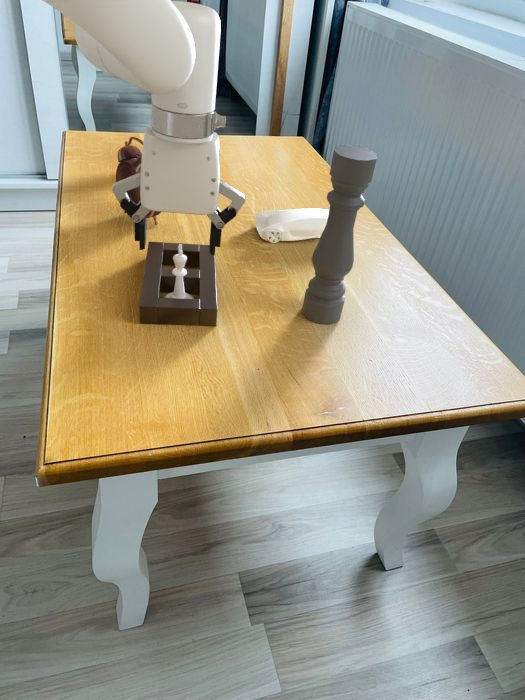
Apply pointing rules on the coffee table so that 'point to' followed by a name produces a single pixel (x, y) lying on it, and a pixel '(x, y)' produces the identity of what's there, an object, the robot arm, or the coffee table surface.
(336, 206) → the candle holder
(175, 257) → the chess piece
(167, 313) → the socket block
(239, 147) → the coffee table surface
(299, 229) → the toy car
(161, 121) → the robot arm
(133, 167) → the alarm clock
